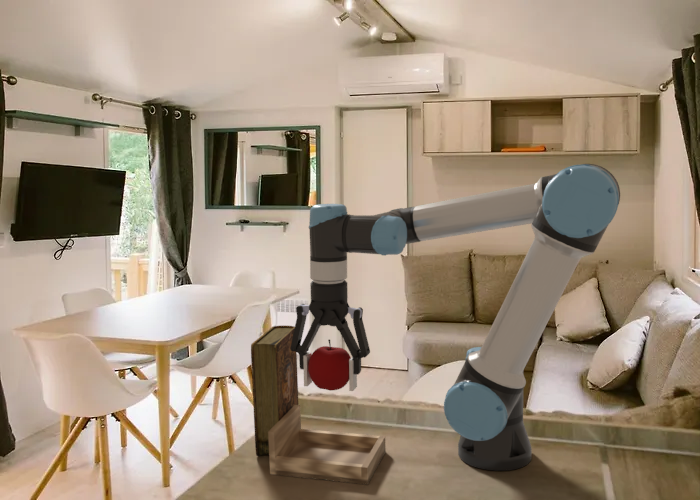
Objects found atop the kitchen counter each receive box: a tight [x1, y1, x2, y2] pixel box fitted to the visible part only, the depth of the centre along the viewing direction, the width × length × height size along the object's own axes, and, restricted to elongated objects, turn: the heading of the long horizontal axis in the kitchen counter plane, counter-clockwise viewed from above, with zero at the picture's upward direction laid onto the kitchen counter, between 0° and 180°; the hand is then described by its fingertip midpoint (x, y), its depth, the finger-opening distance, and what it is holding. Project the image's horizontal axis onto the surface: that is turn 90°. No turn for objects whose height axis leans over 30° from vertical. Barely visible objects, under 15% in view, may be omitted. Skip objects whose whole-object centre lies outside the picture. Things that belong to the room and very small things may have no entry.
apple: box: [308, 339, 352, 391], centre depth 144 cm, size 9×9×10 cm
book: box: [250, 325, 299, 457], centre depth 155 cm, size 16×6×25 cm, turn 169°
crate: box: [268, 404, 387, 486], centre depth 145 cm, size 20×15×9 cm
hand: (330, 386), depth 145 cm, fingers closed on apple, 9 cm apart
